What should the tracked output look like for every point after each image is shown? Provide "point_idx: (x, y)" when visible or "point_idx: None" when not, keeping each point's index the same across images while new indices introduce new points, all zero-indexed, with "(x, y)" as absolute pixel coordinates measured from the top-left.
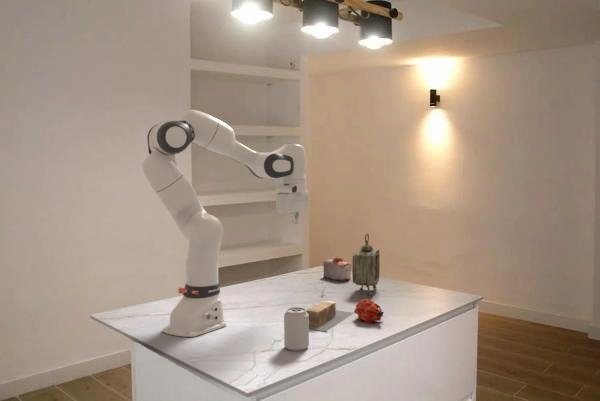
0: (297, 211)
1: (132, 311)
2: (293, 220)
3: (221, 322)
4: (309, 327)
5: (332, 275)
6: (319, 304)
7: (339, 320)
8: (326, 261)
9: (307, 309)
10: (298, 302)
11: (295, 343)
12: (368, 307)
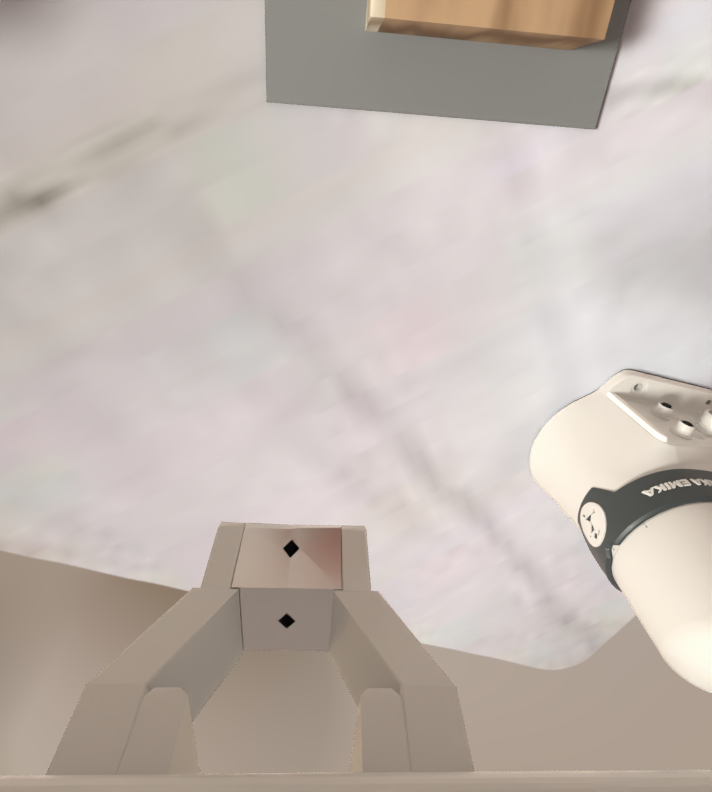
0: (310, 776)
1: (524, 637)
2: (368, 589)
3: (626, 390)
4: (614, 4)
5: None
6: (465, 2)
7: None
8: None
9: (587, 34)
10: (214, 265)
11: None
12: None
